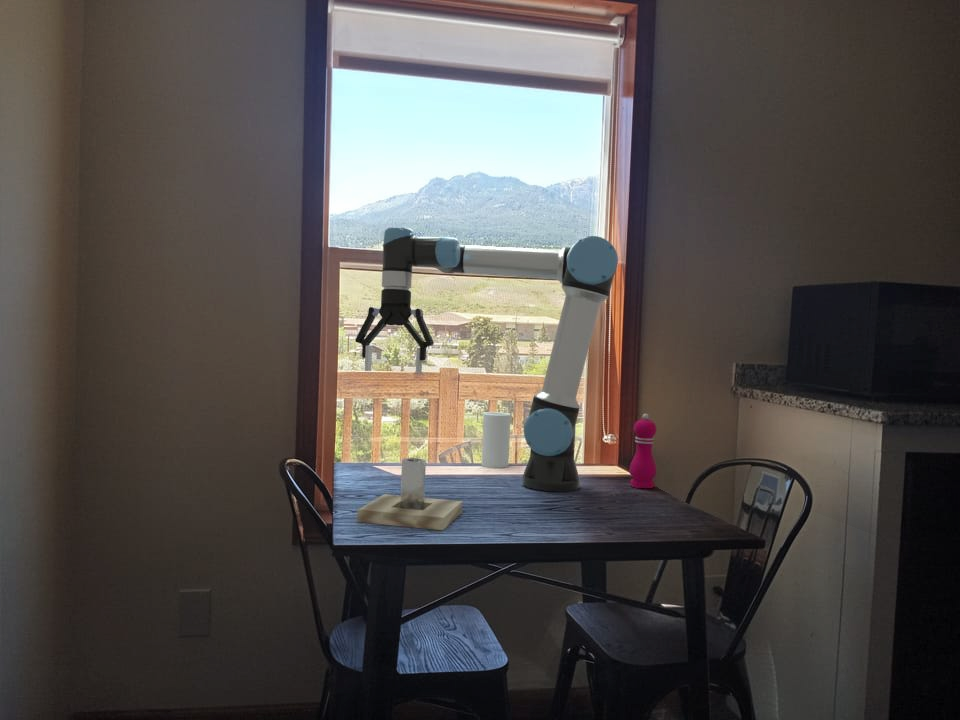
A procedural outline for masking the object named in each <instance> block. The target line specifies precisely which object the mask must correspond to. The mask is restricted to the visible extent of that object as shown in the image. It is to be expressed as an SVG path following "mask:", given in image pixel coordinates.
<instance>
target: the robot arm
mask: <svg viewBox="0 0 960 720" xmlns="http://www.w3.org/2000/svg"><path fill="white" fill-rule="evenodd" d="M383 236H384V237H383V244H382V271H381V272H382V274H381V276H382V277H381V287H382V288H383V289H381V296H380V307H379V308H376V307H374V306H370V307H369V308H368V311H367V316H366V318H365V320H364V322H363V324H362V326H361V328H360V330H359V332H358V333H357V335H356V337H355V340H354V341H355V342H356V343H358V344H360V345H361V346H362V347H361V348H362V349H361V357H362V358H364V371H365V372H371V371H372V362H373V361H372V359H373V345H371V343H372V341H374V339H375V338H376V337H377V336H378V335H379V334H380V333H381V331H382V330H383V329H385V327H386V326H401V327H404V328H406V330H407V331H408V333H409V335H410V336H411V337H412V338H413V340H414V341H415V342H416V343H417V345H418V346H419V347H416V354H415V355H416V356H415V358H416V359H415V374H417V375H419V374H422V373H423V372H422V370H423V362H425V361H426V359H427V348H428V347H431V346H434V344H435V343H434V340H433V338H432V336H431V333H430V331H429V328H428V326H427V324H426V322H425V318H424V313H423V312H424V311H423V309H421V308H416V309H412V306H411V305H412V304H411V303H412V292H411V290H410V289H411V288H412V280H413V267H428V268H435V269H437V270H439V272H442V273H445V274H455V273H456V274H457V273H459V274H473V275H485V276H486V275H488V276H501V277H506V276H507V277H515V278H529V279H530V278H531V279H544V280H545V279H546V280H557V281H558V282H559V283H560V284H562V285H561V289H562V290H563V292H564V294H565V297H564V301H563V305H562V309H561V313H560V317H559V322H558V326H557V329H556V333H555V336H554V340H553V344H552V349H551V352H550V356H549V360H548V363H547V368H546V372H545V375H544V376H545V377H544V381H543V384H542V387H541V390H540V391H537V392H536V393H534V395H533V397H532V403H531V406H530V410H529V413H528V417H527V418H526V420H525V422H524V425H523V436H524V440H525V442H526V444H527V446H528V447H529V448H530V450H529V451H530V453H529V458H528V461H527V464H526V466H525V469H524V472H523V474H522V480H521V481H522V482H521V483H522V484H523V485H524V487H525V486H526V488H528V489H531V488H532V490H536V489H537V490H538V491H543V490H544V491H545V492H573V491H576V490H579V488H580V481H581V480H580V476H579V472H578V469H577V464H576V460H575V443H576V426H577V425H576V424H577V421H578V420H577V419H578V418H579V417H578V416H579V413H580V412H579V411H580V409H581V405H580V404H579V402H578V400H577V395H578V392H579V387H580V383H581V380H582V377H583V372H584V368H585V366H586V365H585V364H586V361H587V356H588V353H589V349H590V345H591V341H592V337H593V333H594V329H595V325H596V321H597V318H598V314H599V310H600V305H601V304H602V303H603V302H604V301H606V300H608V299H609V297H610V293H611V289H612V285H613V281H614V278H615V277H614V276H615V275H616V272H617V268H618V262H619V258H618V253H617V250H616V248H615V247H614V245H613V244H612V243H611V242H610V241H609V240H607V239H606V238H603V237H601V236H598V235H589V236H585V237H581V238H580V239H578V240H577V241H576V242H574V243H573V245H572V246H570V247H567V246H564V247H563V248H562V249H561V250H554V249H553V250H550V249H534V248H517V247H501V246H486V245H470V244H469V245H468V244H466V245H465V244H460V241H459V239H458V238H456V237H449V236H417V235H415V234H414V230H413V229H411V228H409V227H400V226H399V227H398V226H393V227H392V226H391V227H388V228H386V229H385V230H384V235H383ZM378 315H380V317H381V319H380V320H378V322H377V324H376V325H375V326H374V327H373V329H371V331H370V328H371V326H372V325H373V324H374V323H373V322H374V321H375V319H376V317H377V316H378ZM411 316H413V317H414V318H415V319H416V322H417V325H418V327H419V329H420V332H421V334H422V335H420V333H419V332H418V331H417V330H416V328H415V327H414V325H413V323H412V322H411V321H410V318H411ZM369 331H370V332H369ZM368 332H369V333H368ZM422 337H423V338H422ZM522 484H521V485H522ZM523 485H522V486H523ZM537 490H536V491H537Z"/></svg>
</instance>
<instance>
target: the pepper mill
mask: <svg viewBox="0 0 960 720" xmlns="http://www.w3.org/2000/svg"><path fill="white" fill-rule="evenodd" d="M641 418H642V419H639V420H637V421H636V422H634V425H633V433H634V434H635V437H634V438H635V440H634V442H635V444H636V450H635V454H634V455H633V458H632V461H631V462H630V466H629V474H630V476H631V477H632V478H631V479H630V487H631V486H632V487H631V488H633V487H635V488H634V489H637V488H645V489H644V490H647V489H646V488H653V487H654V488H655V481H654V480H653V479H654V478H655V477H656V476H657V473H658V472H657V470H658V469H657V464H656V462H655V460H654V456H653V450H652V449H653V444H654V443H655V441H654V440H655V438H654V436H655V435H656V433H657V425H656V423H655V422H654V421H652V420H651V419H649V418H650V416H649V414H648V413H643V414H642V417H641ZM654 488H653V489H654Z"/></svg>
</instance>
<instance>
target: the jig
mask: <svg viewBox="0 0 960 720" xmlns="http://www.w3.org/2000/svg"><path fill="white" fill-rule="evenodd" d="M400 500H401V494H400V495H398V494H388V493H387V494H386V493H385V494H382V495H380V496H379V497H377V498H375V499H373V500H372V501H370V502H369V503H367V504H365V505H363V506H361V507H360V508H357V512H356V513H357V514H356V517H357V519H356V522H357V523H366V524H374V525H375V524H377V525H385V526H386V525H388V526H395V527H397V526H398V527H407V528H415V529H416V528H417V529H426V530H435V531H436V530H437V531H444V530H445V529H446V528H447V527H448V526H450V525H451V523H453V522H454V521H455V520H456V519H457V518H458V517H459V516H460V515H461V514H462V513H463V500H454V499H453V500H452V499H445V498H444V499H442V498H441V499H440V498H430V497H424V510H415V509H404V508H400Z"/></svg>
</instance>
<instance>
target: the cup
mask: <svg viewBox="0 0 960 720" xmlns="http://www.w3.org/2000/svg"><path fill="white" fill-rule="evenodd" d="M511 415H512V414H511V413H509V412H500V411H484V412H483V418H482V419H483V420H482V440H481V441H482V442H481V443H482V445H481V466H482V467H484V468H491V469H504V468H509V464H510V462H509V457H510V437H511V436H510V435H511V418H512V417H511Z"/></svg>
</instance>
